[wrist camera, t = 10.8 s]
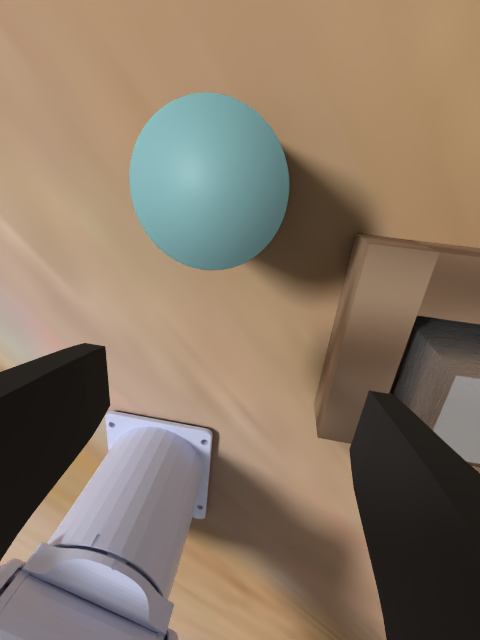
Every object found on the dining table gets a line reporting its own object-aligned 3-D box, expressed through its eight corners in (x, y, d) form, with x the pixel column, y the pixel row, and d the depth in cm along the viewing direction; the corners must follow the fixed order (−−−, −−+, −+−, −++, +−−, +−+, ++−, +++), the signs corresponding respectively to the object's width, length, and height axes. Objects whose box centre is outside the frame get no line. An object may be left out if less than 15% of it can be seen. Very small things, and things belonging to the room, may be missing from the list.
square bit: (455, 386, 19) (523, 471, 13) (384, 376, 19) (422, 454, 13) (481, 324, 17) (573, 391, 11) (404, 314, 17) (456, 375, 12)
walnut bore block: (491, 434, 20) (523, 474, 17) (314, 404, 21) (317, 437, 18) (587, 261, 15) (652, 278, 13) (355, 233, 16) (369, 243, 14)
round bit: (280, 249, 17) (276, 279, 12) (180, 236, 18) (132, 259, 12) (298, 130, 15) (303, 100, 9) (183, 119, 15) (125, 84, 10)
